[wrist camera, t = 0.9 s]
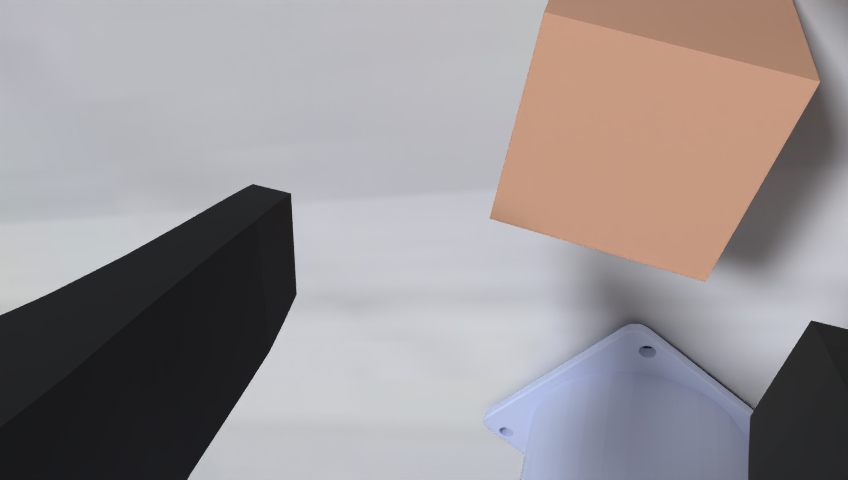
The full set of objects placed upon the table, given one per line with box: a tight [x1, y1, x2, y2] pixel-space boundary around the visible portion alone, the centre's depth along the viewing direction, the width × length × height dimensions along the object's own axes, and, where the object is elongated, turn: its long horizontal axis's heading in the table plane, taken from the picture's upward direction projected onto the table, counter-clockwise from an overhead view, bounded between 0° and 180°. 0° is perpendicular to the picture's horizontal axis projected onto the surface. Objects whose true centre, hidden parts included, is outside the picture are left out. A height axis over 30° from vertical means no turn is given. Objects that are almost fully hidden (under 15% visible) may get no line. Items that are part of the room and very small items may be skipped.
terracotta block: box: [490, 0, 820, 281], centre depth 15 cm, size 5×5×5 cm
